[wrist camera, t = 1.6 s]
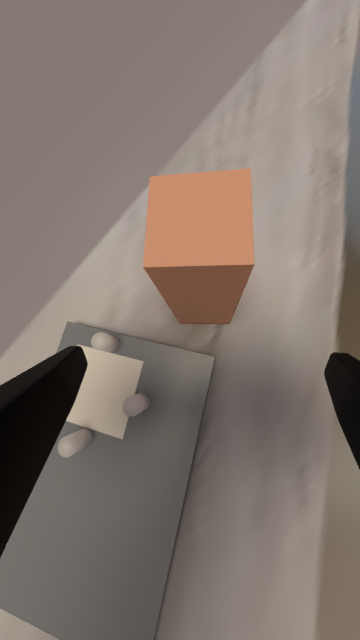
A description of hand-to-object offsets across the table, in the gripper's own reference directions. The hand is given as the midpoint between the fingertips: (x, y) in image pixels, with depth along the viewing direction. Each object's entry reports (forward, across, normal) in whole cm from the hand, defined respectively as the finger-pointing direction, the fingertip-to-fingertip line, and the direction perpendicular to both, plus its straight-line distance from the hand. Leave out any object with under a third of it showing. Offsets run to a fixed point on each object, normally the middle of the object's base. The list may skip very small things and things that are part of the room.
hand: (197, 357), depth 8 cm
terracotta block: (+13, 0, +4) cm, 13 cm away
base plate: (+2, +8, +15) cm, 17 cm away
